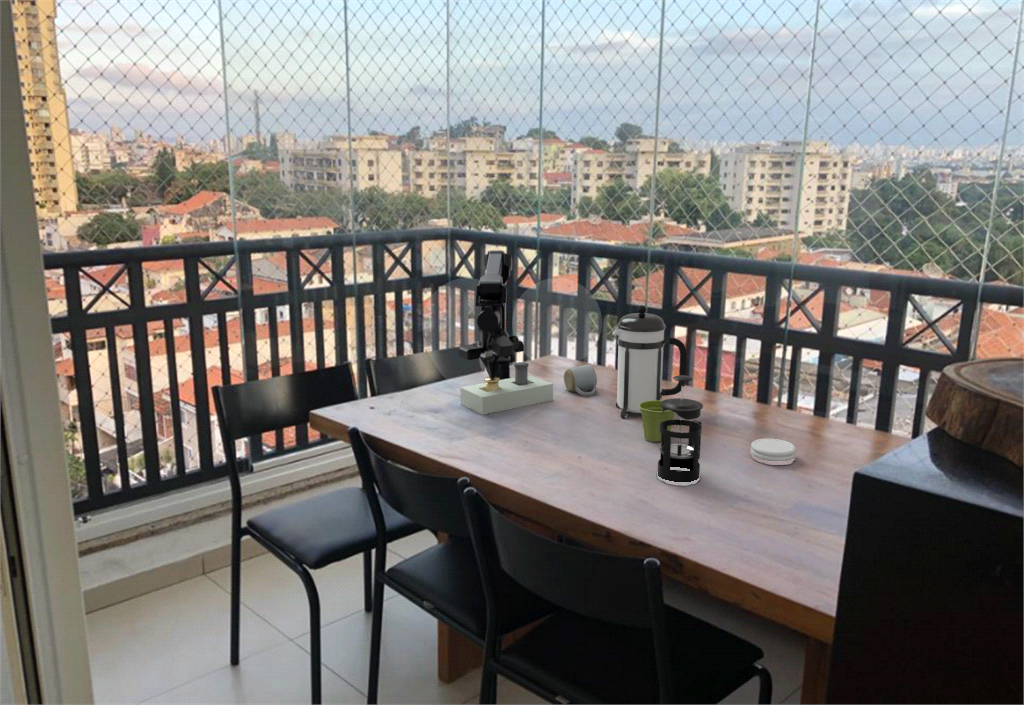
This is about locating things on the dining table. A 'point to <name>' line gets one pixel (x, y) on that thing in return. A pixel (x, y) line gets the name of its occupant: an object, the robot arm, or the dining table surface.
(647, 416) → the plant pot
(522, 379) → the graphite plug
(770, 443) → the coaster
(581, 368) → the ceramic mug
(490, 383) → the brass plug
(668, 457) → the french press
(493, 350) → the robot arm
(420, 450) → the dining table surface
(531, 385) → the block
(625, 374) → the coffee press
